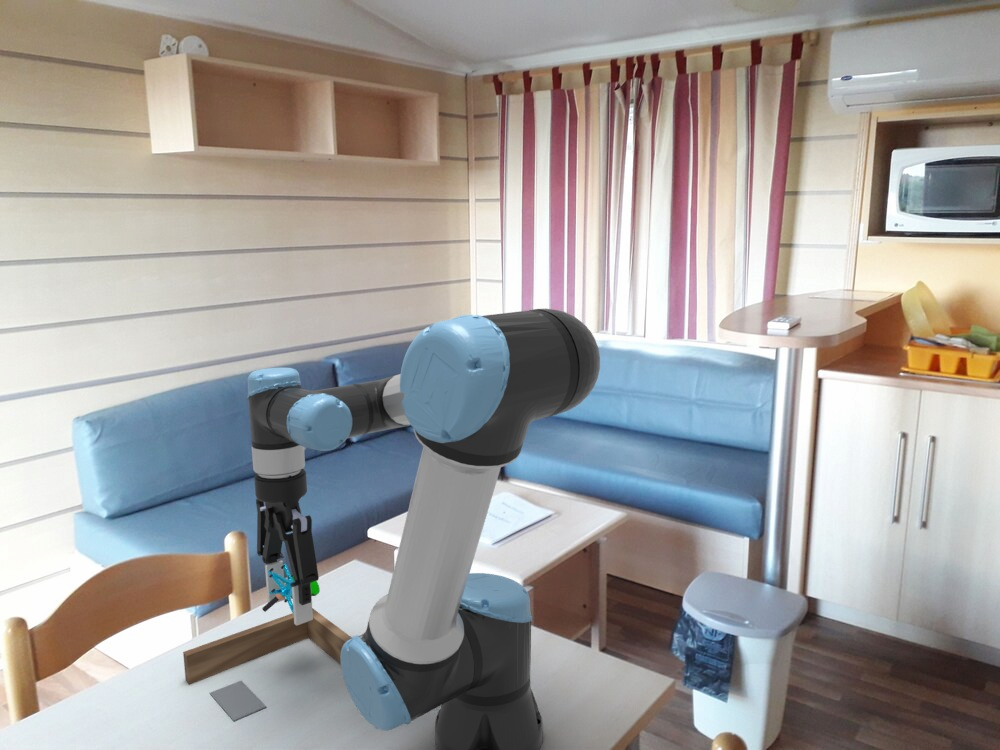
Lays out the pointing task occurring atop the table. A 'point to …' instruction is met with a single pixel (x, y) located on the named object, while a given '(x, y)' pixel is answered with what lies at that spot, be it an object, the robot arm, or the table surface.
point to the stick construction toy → (286, 588)
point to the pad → (237, 700)
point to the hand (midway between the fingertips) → (289, 611)
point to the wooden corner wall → (261, 645)
